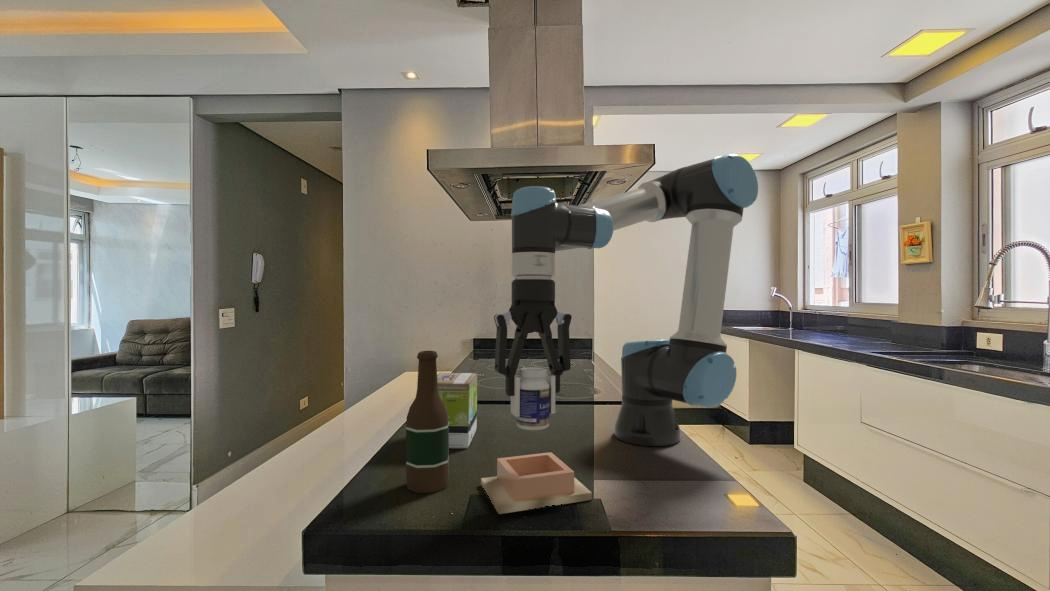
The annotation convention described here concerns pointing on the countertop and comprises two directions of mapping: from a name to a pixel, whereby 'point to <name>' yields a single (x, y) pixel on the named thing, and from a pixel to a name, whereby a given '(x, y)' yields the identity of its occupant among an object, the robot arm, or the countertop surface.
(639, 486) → the countertop surface
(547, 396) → the pill bottle
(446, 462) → the beer bottle
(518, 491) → the well
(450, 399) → the tea box
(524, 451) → the countertop surface
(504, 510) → the board
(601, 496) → the countertop surface
